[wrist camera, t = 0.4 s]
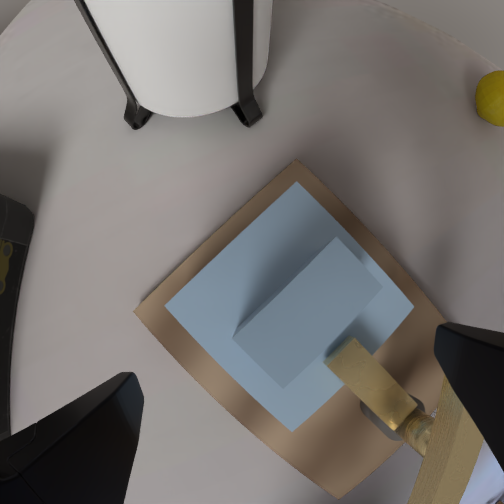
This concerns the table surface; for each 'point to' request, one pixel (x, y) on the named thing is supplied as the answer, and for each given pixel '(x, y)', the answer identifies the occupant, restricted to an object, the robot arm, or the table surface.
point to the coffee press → (184, 54)
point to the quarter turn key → (415, 424)
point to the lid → (289, 305)
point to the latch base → (344, 400)
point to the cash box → (10, 288)
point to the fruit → (491, 98)
